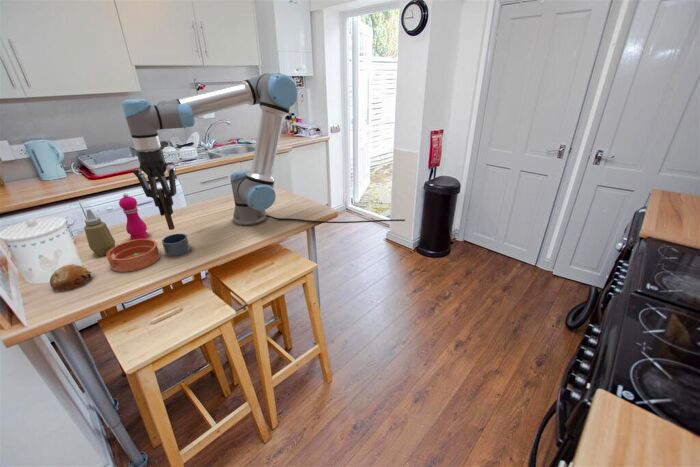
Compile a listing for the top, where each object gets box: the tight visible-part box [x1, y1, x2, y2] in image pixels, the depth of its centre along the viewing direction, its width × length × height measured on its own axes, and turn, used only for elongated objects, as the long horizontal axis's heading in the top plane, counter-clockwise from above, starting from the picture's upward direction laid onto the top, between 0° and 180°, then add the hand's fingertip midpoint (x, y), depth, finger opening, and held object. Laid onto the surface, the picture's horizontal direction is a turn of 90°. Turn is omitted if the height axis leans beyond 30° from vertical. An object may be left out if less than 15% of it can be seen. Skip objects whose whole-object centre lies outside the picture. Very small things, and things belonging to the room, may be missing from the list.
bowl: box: [105, 238, 161, 273], centre depth 116 cm, size 16×16×6 cm
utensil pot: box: [161, 233, 191, 258], centre depth 123 cm, size 9×9×6 cm
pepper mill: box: [118, 193, 149, 240], centre depth 130 cm, size 7×7×20 cm
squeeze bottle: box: [83, 208, 116, 257], centre depth 120 cm, size 8×8×18 cm
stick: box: [157, 187, 176, 231], centre depth 116 cm, size 2×2×16 cm
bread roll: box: [49, 263, 92, 292], centre depth 105 cm, size 10×10×8 cm
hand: (167, 213), depth 116 cm, fingers closed on stick, 2 cm apart
